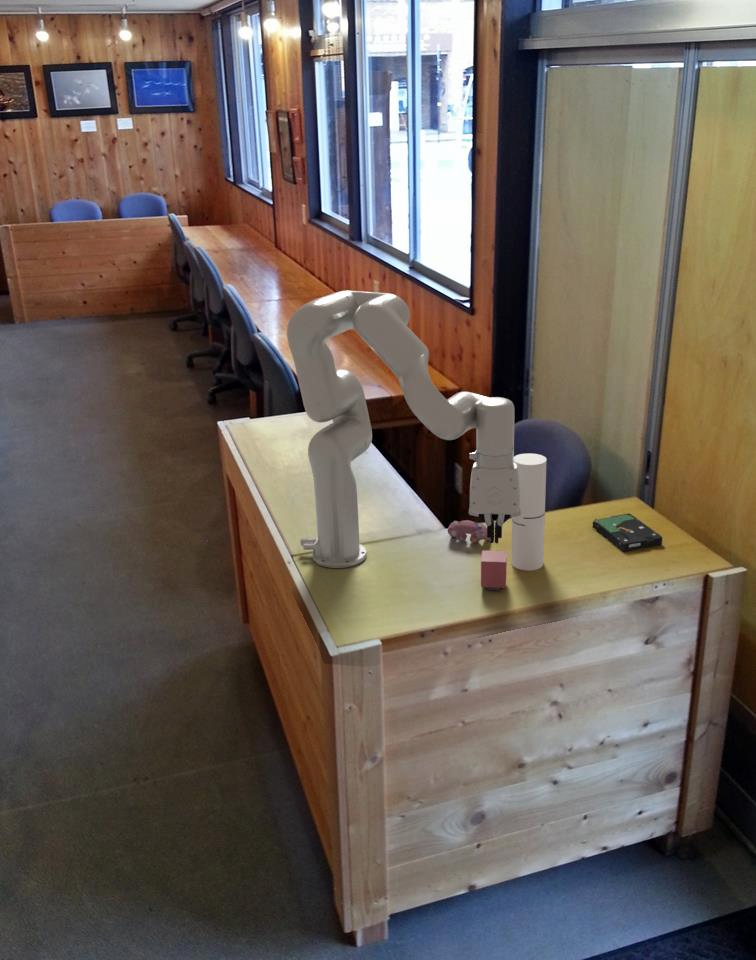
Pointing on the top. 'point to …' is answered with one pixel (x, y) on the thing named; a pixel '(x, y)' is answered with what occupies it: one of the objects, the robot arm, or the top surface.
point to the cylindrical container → (529, 513)
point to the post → (493, 588)
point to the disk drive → (627, 532)
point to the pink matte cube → (493, 569)
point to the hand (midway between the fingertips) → (494, 540)
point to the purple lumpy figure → (468, 531)
